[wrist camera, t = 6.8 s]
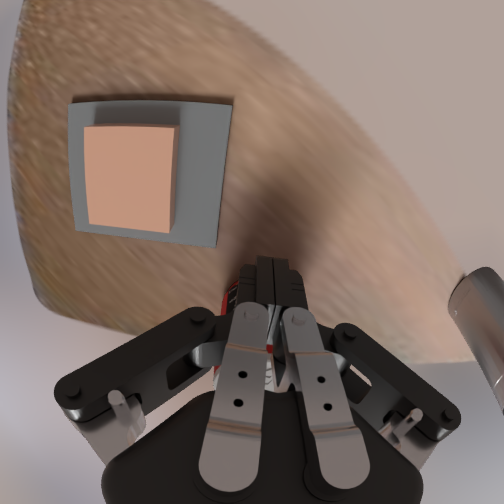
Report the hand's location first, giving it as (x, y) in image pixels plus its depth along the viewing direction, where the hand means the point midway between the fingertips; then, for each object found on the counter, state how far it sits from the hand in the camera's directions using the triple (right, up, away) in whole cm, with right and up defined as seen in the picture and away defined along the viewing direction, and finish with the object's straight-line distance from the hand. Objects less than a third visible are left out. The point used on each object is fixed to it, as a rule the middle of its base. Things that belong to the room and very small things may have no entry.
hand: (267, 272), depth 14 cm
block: (-7, +7, +9) cm, 13 cm away
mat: (-11, +8, +10) cm, 16 cm away
